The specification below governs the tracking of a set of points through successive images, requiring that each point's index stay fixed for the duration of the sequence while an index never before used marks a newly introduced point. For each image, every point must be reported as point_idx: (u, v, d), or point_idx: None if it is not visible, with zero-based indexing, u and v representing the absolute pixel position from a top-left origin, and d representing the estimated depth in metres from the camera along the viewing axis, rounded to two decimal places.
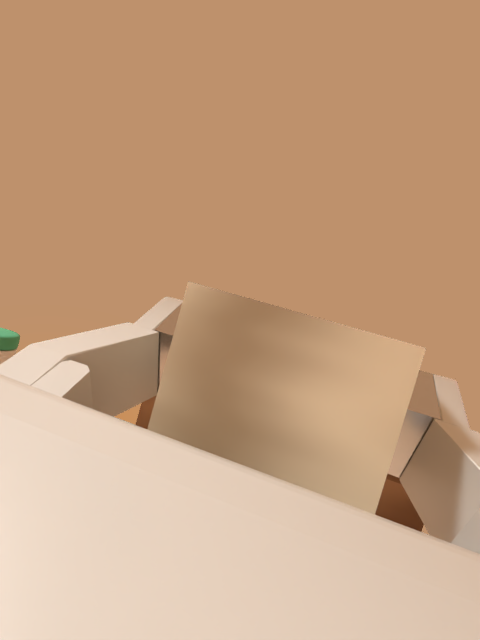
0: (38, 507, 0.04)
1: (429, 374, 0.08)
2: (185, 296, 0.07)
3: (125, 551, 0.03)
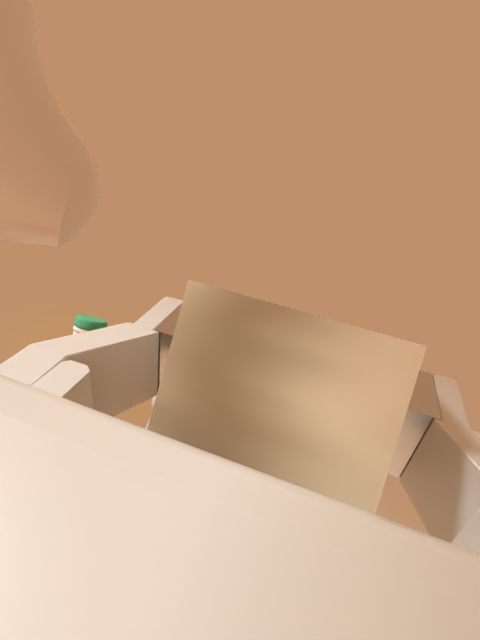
0: (38, 507, 0.04)
1: (429, 374, 0.08)
2: (185, 295, 0.07)
3: (125, 551, 0.03)
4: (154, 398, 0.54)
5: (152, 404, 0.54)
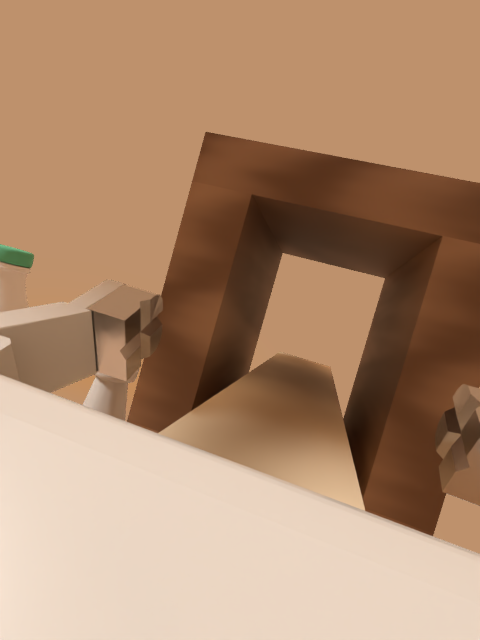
0: (38, 507, 0.04)
1: None
2: None
3: (125, 551, 0.03)
4: None
5: None
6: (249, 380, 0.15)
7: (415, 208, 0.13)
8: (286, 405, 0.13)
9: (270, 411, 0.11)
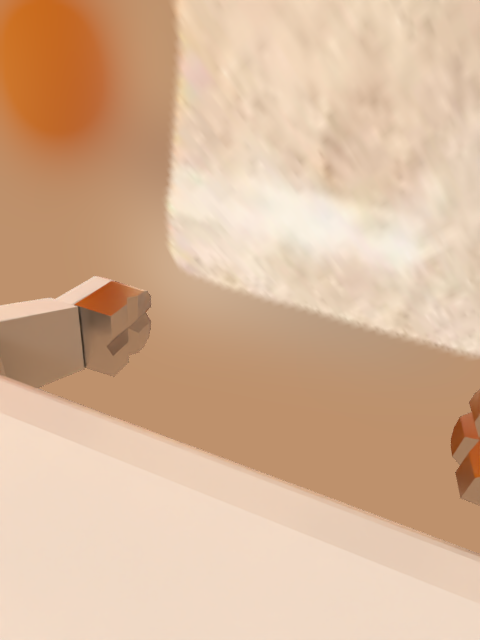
0: (38, 507, 0.04)
1: None
2: None
3: (125, 551, 0.03)
4: None
5: None
6: None
7: None
8: None
9: None
